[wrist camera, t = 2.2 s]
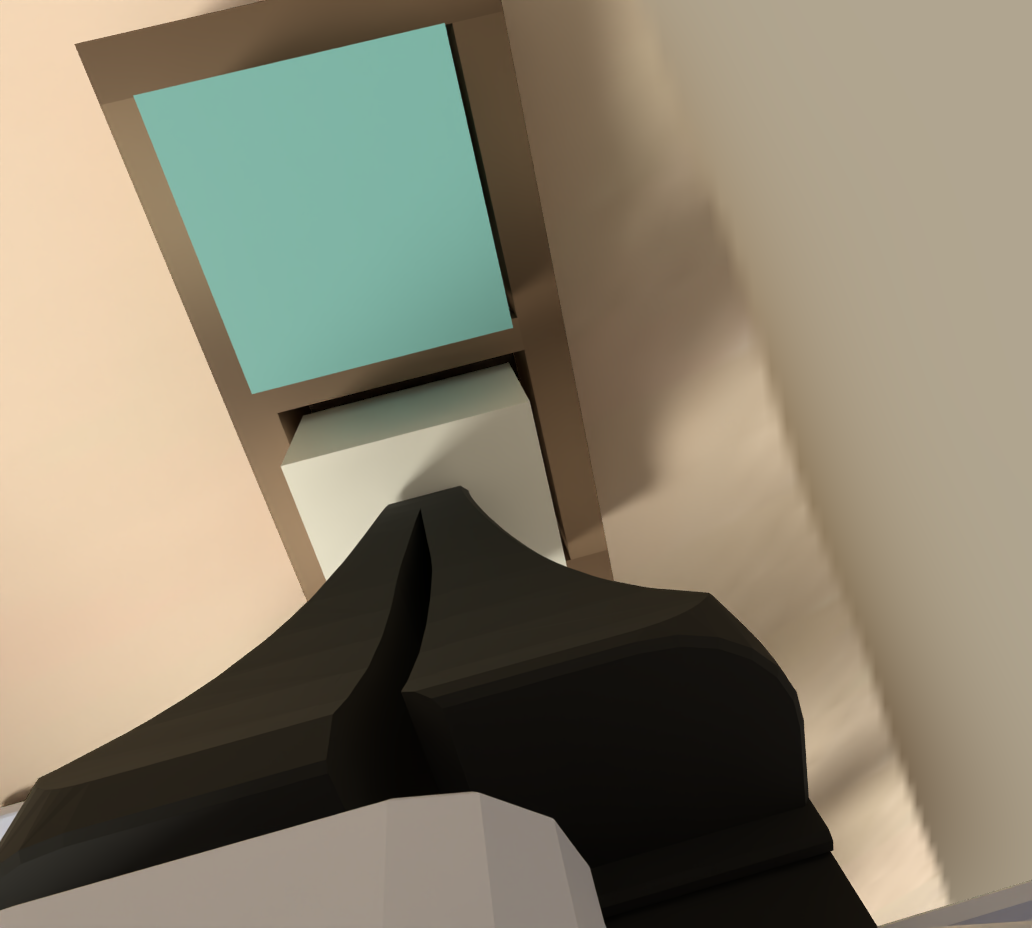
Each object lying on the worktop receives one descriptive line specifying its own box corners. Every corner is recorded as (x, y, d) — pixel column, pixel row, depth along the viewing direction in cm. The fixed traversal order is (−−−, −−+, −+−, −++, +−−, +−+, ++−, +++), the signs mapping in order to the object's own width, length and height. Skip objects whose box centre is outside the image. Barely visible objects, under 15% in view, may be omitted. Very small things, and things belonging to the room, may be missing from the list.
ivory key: (549, 539, 15) (575, 606, 12) (367, 589, 15) (359, 665, 12) (508, 362, 13) (529, 401, 11) (303, 415, 13) (280, 466, 11)
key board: (586, 527, 17) (613, 580, 15) (341, 592, 17) (331, 658, 15) (475, -10, 12) (491, -51, 10) (137, 69, 12) (74, 43, 10)
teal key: (494, 300, 13) (513, 327, 10) (280, 354, 12) (252, 394, 10) (436, 54, 11) (444, 23, 9) (190, 113, 11) (133, 95, 9)
